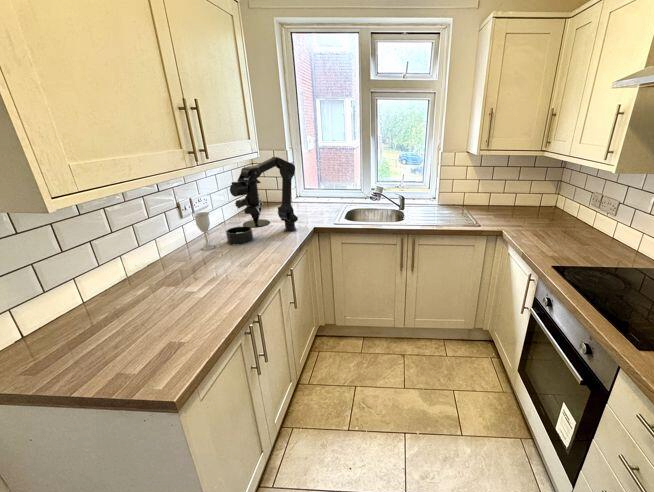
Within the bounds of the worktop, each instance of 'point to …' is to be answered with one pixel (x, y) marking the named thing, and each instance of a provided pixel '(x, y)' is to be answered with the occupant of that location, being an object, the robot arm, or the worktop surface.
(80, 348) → the worktop surface
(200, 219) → the chalice
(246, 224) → the tin lid
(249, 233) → the tin
